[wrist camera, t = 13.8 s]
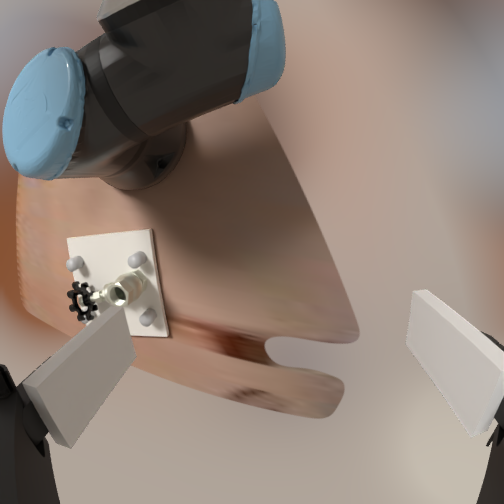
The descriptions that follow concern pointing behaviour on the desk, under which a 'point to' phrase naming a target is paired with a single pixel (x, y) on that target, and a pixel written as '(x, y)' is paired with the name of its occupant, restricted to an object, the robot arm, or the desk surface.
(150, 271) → the mounting plate
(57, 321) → the desk surface
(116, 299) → the valve
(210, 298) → the desk surface
